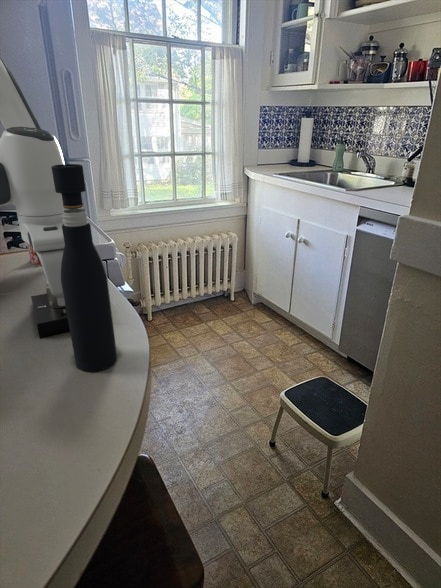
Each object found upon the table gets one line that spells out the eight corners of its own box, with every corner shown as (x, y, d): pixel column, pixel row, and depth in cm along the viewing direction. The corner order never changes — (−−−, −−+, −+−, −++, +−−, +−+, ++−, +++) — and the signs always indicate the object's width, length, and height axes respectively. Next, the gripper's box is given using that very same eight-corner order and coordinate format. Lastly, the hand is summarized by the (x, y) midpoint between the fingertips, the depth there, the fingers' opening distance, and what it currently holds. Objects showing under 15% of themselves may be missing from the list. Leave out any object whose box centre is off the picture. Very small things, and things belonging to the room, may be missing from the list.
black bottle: (101, 376, 59) (70, 169, 47) (66, 367, 61) (28, 167, 49) (125, 354, 65) (103, 164, 52) (92, 347, 67) (64, 162, 54)
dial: (75, 305, 74) (72, 284, 72) (50, 310, 72) (46, 289, 71) (72, 297, 78) (68, 276, 76) (48, 301, 76) (44, 280, 74)
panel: (97, 326, 73) (95, 311, 72) (39, 339, 69) (36, 323, 68) (84, 299, 84) (82, 286, 82) (33, 309, 79) (30, 295, 78)
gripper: (24, 217, 76) (38, 282, 82) (32, 245, 59) (49, 324, 65) (59, 213, 79) (69, 277, 84) (76, 239, 62) (88, 316, 68)
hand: (60, 298), depth 75 cm, fingers closed on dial, 4 cm apart
